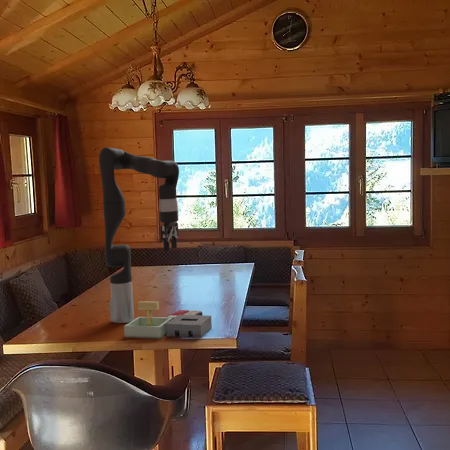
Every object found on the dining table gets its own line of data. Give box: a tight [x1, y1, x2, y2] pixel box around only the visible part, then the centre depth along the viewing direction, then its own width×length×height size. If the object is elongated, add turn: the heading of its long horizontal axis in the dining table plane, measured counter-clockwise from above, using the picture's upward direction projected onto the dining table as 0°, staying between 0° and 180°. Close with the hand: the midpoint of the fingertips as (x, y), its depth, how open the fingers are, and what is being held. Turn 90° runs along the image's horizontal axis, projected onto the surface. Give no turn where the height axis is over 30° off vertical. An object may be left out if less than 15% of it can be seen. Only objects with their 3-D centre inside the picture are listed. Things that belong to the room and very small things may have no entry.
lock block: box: [166, 314, 213, 339], centre depth 230 cm, size 14×14×5 cm
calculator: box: [166, 309, 203, 319], centre depth 246 cm, size 11×4×15 cm
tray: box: [123, 316, 173, 339], centre depth 231 cm, size 15×14×4 cm
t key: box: [137, 300, 160, 326], centre depth 231 cm, size 8×2×12 cm, turn 75°
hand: (170, 249), depth 236 cm, fingers open, 8 cm apart
